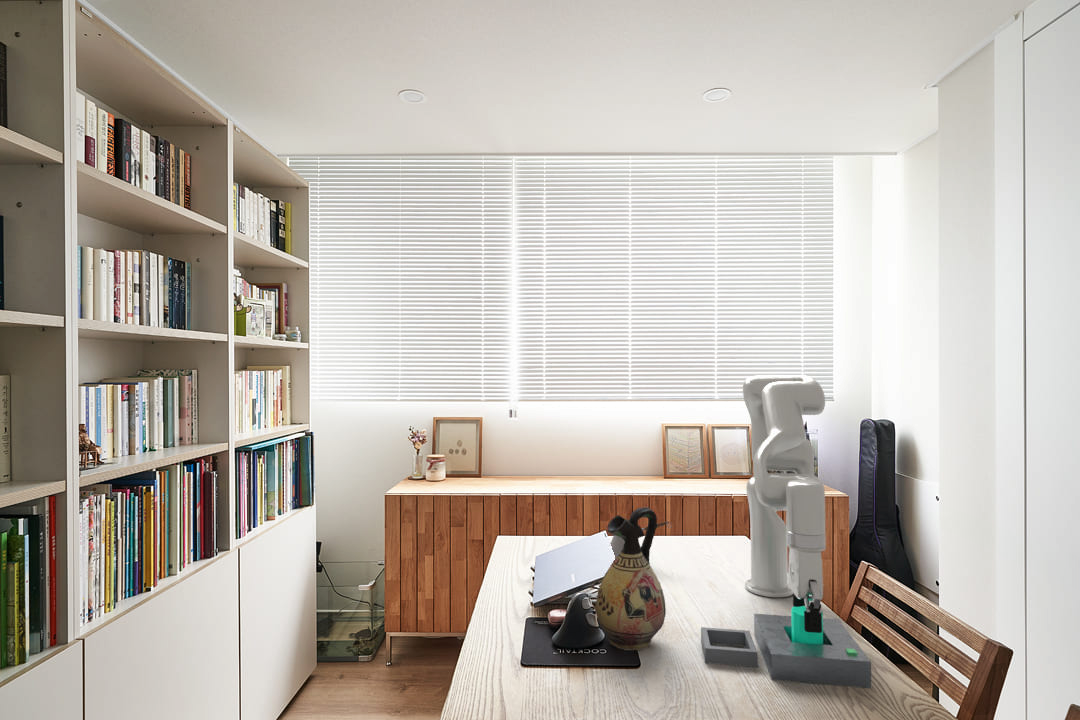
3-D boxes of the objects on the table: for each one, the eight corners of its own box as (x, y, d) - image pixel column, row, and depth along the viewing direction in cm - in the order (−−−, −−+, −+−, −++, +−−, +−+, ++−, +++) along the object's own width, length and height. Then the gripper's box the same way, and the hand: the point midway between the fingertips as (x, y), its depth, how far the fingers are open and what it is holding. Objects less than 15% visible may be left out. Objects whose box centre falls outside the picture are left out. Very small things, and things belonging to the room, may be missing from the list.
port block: (754, 635, 136) (754, 611, 136) (838, 641, 133) (838, 616, 133) (771, 679, 117) (771, 651, 117) (871, 688, 113) (870, 659, 113)
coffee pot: (600, 563, 189) (600, 515, 189) (618, 554, 198) (617, 509, 199) (662, 576, 176) (662, 525, 177) (678, 566, 186) (677, 518, 186)
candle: (822, 657, 126) (821, 599, 126) (824, 670, 120) (823, 610, 120) (791, 652, 128) (790, 596, 128) (792, 665, 122) (791, 606, 123)
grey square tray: (701, 640, 134) (700, 627, 134) (749, 644, 132) (749, 630, 132) (705, 662, 124) (705, 648, 124) (757, 667, 122) (757, 652, 122)
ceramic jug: (620, 665, 123) (619, 518, 123) (583, 635, 137) (583, 504, 137) (686, 648, 130) (685, 510, 131) (645, 622, 144) (644, 497, 145)
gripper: (778, 528, 135) (779, 605, 134) (796, 550, 118) (797, 638, 117) (813, 530, 133) (814, 607, 133) (837, 552, 116) (838, 641, 116)
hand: (806, 621), depth 125 cm, fingers open, 9 cm apart
